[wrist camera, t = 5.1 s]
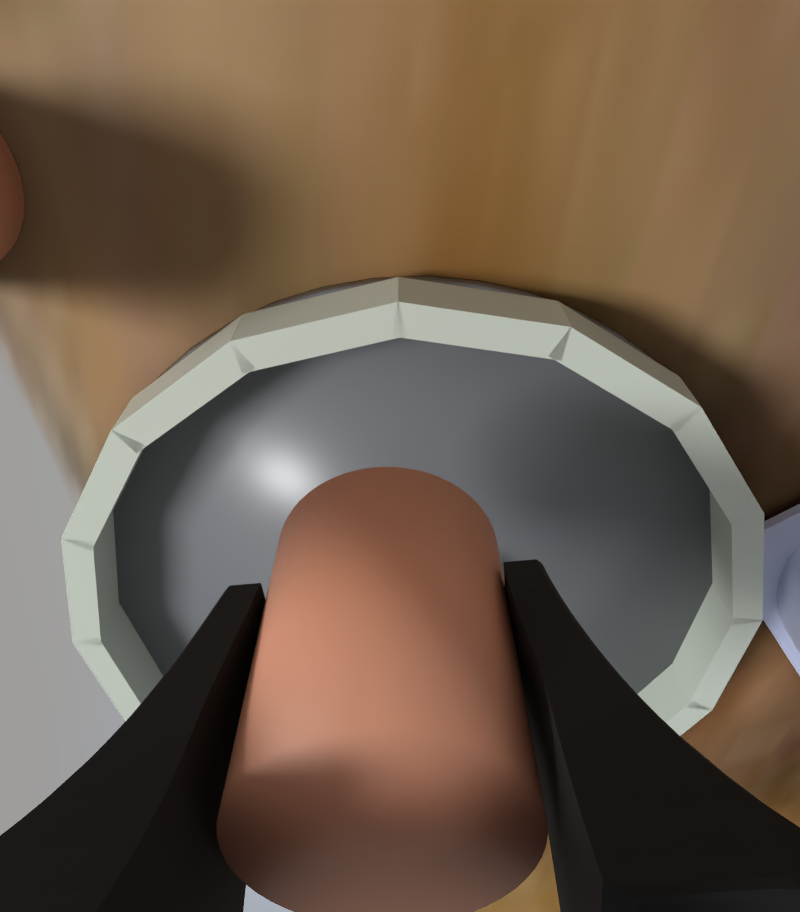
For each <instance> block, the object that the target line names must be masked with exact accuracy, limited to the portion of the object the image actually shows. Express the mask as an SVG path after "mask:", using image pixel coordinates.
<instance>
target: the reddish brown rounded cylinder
mask: <svg viewBox="0 0 800 912" xmlns="http://www.w3.org/2000/svg"><path fill="white" fill-rule="evenodd" d="M24 208H25V204H24V191H23V185H22V180H21V177H20V173H19V170H18V167H17V164H16V162H15V160H14V157H13V155H12V153H11V151H10V149H9V147H8V145H7V144H6V142H5V140H4V138H3V137H2V136H1V134H0V260H2V259H3V258H4V257H5V256H6V255H7V254H8V252H9V251H10V250H11V249H12V247H13V246H14V244H15V242H16V241H17V238H18V236H19V234H20V231H21V227H22V223H23V219H24Z"/></svg>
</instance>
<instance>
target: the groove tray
mask: <svg viewBox="0 0 800 912" xmlns="http://www.w3.org/2000/svg"><path fill="white" fill-rule="evenodd" d="M373 467H400V468H409V469H414V470H419V471H423V472H426V473H429V474H432V475H436V476H438V477H440V478H442V479H445V480H447V481H449V482H451V483H452V484H454V485H456V486H457V487H459V488H460V489H462V490H463V491H464V492H466V493H467V494H468V495H469V496H470V497H472V498H473V499H474V500H475V501H476V502H477V504H478V505H479V506H480V507H481V508H482V509H483V511H484V512H485V514H486V515H487V517H488V518H489V520H490V523H491V525H492V527H493V529H494V532H495V536H496V539H497V544H498V550H499V556H500V561H501V567H502V572H503V578H504V562H510V561H522V560H534V559H537V560H538V561H540V562H541V563H542V564H543V566H544V568H545V570H546V572H547V574H548V576H549V577H550V579H551V581H552V583H553V584H554V586H555V588H556V589H557V591H558V593H559V594H560V596H561V597H562V599H563V601H564V602H565V604H566V605H567V607H568V608H569V610H570V611H571V613H572V614H573V615H574V617H575V618H576V620H577V621H578V623H579V624H580V625H581V627H582V628H583V629H584V631H585V632H586V633H587V635H588V636H589V637H590V639H591V640H592V641H593V643H594V644H595V645H596V647H597V648H598V649H599V650H600V652H601V653H602V654H603V655H604V657H605V658H606V659H607V660H608V661H609V663H610V664H611V665H612V666H613V667H614V668H615V670H616V671H617V672H618V673H619V674H620V676H621V677H622V678H623V679H624V680H625V681H626V682H627V683H628V685H629V686H630V687H631V688H632V689H633V690H634V691H635V692H636V693H637V694H638V695H639V696H640V697H641V699H642V700H643V701H644V702H645V703H646V704H647V705H648V706H649V707H650V708H651V709H652V710H653V711H654V712H655V713H656V714H657V715H658V716H659V717H660V718H661V719H663V720H664V721H665V722H666V723H667V724H668V725H669V726H670V727H671V728H672V729H673V730H674V731H675V732H676V733H677V734H678V735H679V736H681V735H682V734H683V733H684V732H686V731H687V730H688V729H689V728H691V727H692V726H693V725H694V724H696V723H697V722H698V721H699V720H701V719H702V718H703V717H704V716H706V715H707V714H708V713H709V712H710V711H712V710H713V708H714V706H715V704H716V702H717V701H718V699H719V697H720V695H721V694H722V692H723V690H724V688H725V686H726V685H727V683H728V681H729V679H730V678H731V676H732V674H733V672H734V670H735V669H736V667H737V665H738V663H739V662H740V660H741V658H742V656H743V654H744V653H745V651H746V649H747V647H748V646H749V644H750V642H751V640H752V638H753V637H754V635H755V633H756V631H757V630H758V628H759V626H760V624H761V622H762V621H763V565H764V512H763V511H762V509H761V507H760V506H759V504H758V502H757V501H756V499H755V497H754V495H753V494H752V492H751V490H750V489H749V487H748V485H747V484H746V482H745V480H744V478H743V477H742V475H741V473H740V472H739V470H738V468H737V467H736V465H735V463H734V462H733V460H732V458H731V456H730V455H729V453H728V451H727V450H726V448H725V446H724V445H723V443H722V441H721V440H720V438H719V436H718V434H717V433H716V431H715V429H714V428H713V426H712V424H711V423H710V421H709V419H708V417H707V416H706V414H705V412H704V411H703V409H702V407H701V406H700V404H699V403H698V401H697V400H696V399H695V397H694V396H693V394H692V393H691V392H690V390H689V389H688V387H687V386H686V385H685V383H684V382H683V381H682V379H681V378H680V376H678V375H676V374H675V373H673V372H672V371H670V370H668V369H667V368H665V367H663V366H662V365H660V364H659V363H657V362H655V361H654V360H653V359H652V358H651V357H650V356H649V355H648V354H646V353H645V352H644V351H642V350H641V349H640V348H638V347H637V346H636V345H634V344H633V343H631V342H630V341H629V340H627V339H626V338H625V337H623V336H622V335H621V334H619V333H618V332H616V331H615V330H613V329H612V328H610V327H608V326H606V325H604V324H602V323H600V322H598V321H596V320H595V319H593V318H591V317H589V316H587V315H585V314H583V313H581V312H579V311H578V310H576V309H574V308H571V307H569V306H566V305H564V304H562V303H561V302H559V301H556V300H550V299H547V298H544V297H541V296H538V295H536V294H533V293H530V292H527V291H523V290H519V289H514V288H510V287H505V286H500V285H496V284H491V283H487V282H482V281H477V280H467V279H455V278H443V277H431V276H412V277H389V278H371V279H365V280H359V281H353V282H348V283H342V284H336V285H330V286H325V287H320V288H317V289H314V290H310V291H307V292H304V293H301V294H298V295H294V296H291V297H288V298H285V299H282V300H278V301H275V302H273V303H270V304H268V305H266V306H264V307H262V308H260V309H258V310H255V311H253V312H249V313H245V314H242V315H241V316H240V317H238V318H237V319H236V320H234V321H232V322H230V323H228V324H227V325H225V326H224V327H222V328H221V329H219V330H217V331H216V332H214V333H213V334H211V335H210V336H208V337H207V338H205V339H204V340H202V341H201V342H199V343H198V344H196V345H194V346H193V347H191V348H190V349H189V350H188V351H187V352H186V353H185V354H184V355H182V356H181V357H180V358H179V359H178V360H177V361H176V362H174V363H173V364H172V365H171V366H170V367H169V368H168V369H167V370H165V371H164V372H163V373H162V374H161V375H160V376H159V377H158V378H157V379H156V380H155V381H154V382H153V383H151V384H150V385H149V386H147V387H146V388H145V389H143V390H142V391H141V392H139V393H138V394H137V395H136V396H134V397H133V398H132V399H131V400H130V402H129V403H128V405H127V406H126V408H125V410H124V411H123V413H122V414H121V416H120V417H119V419H118V420H117V422H116V423H115V425H114V426H113V428H112V430H111V432H110V434H109V436H108V438H107V441H106V443H105V445H104V447H103V449H102V451H101V453H100V456H99V458H98V460H97V462H96V464H95V466H94V469H93V471H92V473H91V475H90V477H89V479H88V482H87V484H86V486H85V488H84V490H83V492H82V494H81V497H80V499H79V501H78V503H77V505H76V507H75V510H74V512H73V514H72V516H71V518H70V520H69V523H68V525H67V527H66V529H65V532H64V533H63V536H62V537H61V544H62V552H63V562H64V570H65V580H66V588H67V598H68V606H69V615H70V624H71V634H72V642H73V644H74V645H75V647H76V649H77V650H78V652H79V653H80V654H81V656H82V658H83V659H84V661H85V662H86V663H87V665H88V666H89V668H90V669H91V671H92V672H93V674H94V675H95V677H96V678H97V680H98V681H99V683H100V684H101V686H102V687H103V689H104V690H105V692H106V693H107V695H108V696H109V698H110V699H111V701H112V702H113V704H114V705H115V707H116V708H117V710H118V711H119V713H120V714H121V716H122V717H123V719H124V720H125V721H126V720H127V719H128V718H129V717H130V716H131V715H132V714H133V712H134V711H135V710H136V709H137V708H138V707H139V705H140V704H141V703H142V702H143V700H144V699H145V698H146V697H147V696H148V694H149V693H150V692H151V691H152V690H153V688H154V687H155V686H156V685H157V683H158V682H159V681H160V680H161V679H162V677H163V676H164V675H165V674H166V672H167V671H168V670H169V668H170V667H171V666H172V664H173V663H174V662H175V660H176V659H177V658H178V656H179V655H180V654H181V652H182V651H183V650H184V648H185V647H186V646H187V644H188V643H189V641H190V640H191V639H192V637H193V636H194V634H195V633H196V632H197V630H198V629H199V627H200V626H201V625H202V623H203V622H204V620H205V619H206V617H207V616H208V615H209V613H210V612H211V610H212V609H213V607H214V606H215V604H216V603H217V601H218V600H219V598H220V597H221V596H222V594H223V593H224V591H225V590H226V589H227V588H228V587H229V586H230V585H242V584H254V583H261V585H262V588H263V592H264V596H265V599H266V596H267V592H268V587H269V583H270V578H271V574H272V569H273V565H274V560H275V556H276V551H277V547H278V542H279V538H280V533H281V531H282V528H283V525H284V523H285V521H286V519H287V517H288V516H289V514H290V512H291V511H292V510H293V508H294V507H295V506H296V505H297V503H298V502H299V501H300V500H301V499H302V498H303V497H304V496H305V495H307V494H308V493H309V492H310V491H312V490H313V489H314V488H316V487H317V486H319V485H320V484H322V483H324V482H326V481H328V480H330V479H332V478H334V477H337V476H339V475H342V474H344V473H347V472H351V471H355V470H360V469H366V468H373Z"/></svg>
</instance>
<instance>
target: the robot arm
mask: <svg viewBox="0 0 800 912" xmlns="http://www.w3.org/2000/svg"><path fill="white" fill-rule="evenodd" d="M504 583H505V591H506V597H507V602H508V608H509V613H510V619H511V625H512V629H513V634H514V639H515V645H516V650H517V656H518V661H519V667H520V672H521V678H522V684H523V689H524V695H525V700H526V706H527V711H528V717H529V723H530V728H531V734H532V739H533V745H534V750H535V756H536V762H537V767H538V773H539V778H540V784H541V789H542V795H543V801H544V806H545V812H546V817H547V827H548V833H549V840H550V846H551V852H552V859H553V865H554V871H555V878H556V884H557V890H558V897H559V904H560V910H561V912H800V828H799V827H798V826H796V825H795V824H793V823H792V822H790V821H789V820H787V819H786V818H784V817H783V816H781V815H780V814H778V813H777V812H775V811H774V810H772V809H771V808H770V807H768V806H767V805H765V804H764V803H763V802H761V801H760V800H758V799H757V798H756V797H754V796H753V795H752V794H750V793H749V792H748V791H746V790H745V789H744V788H742V787H741V786H740V785H738V784H737V783H736V782H735V781H733V780H732V779H731V778H729V777H728V776H727V775H725V774H724V773H723V772H722V771H721V770H719V769H718V768H717V767H716V766H715V765H714V764H712V763H711V762H710V761H709V760H708V759H706V758H705V757H704V756H703V755H702V754H701V753H699V752H698V751H697V750H696V749H695V748H693V747H692V746H691V745H690V744H689V743H687V742H686V741H685V740H684V739H683V738H682V737H681V736H679V735H678V734H677V733H676V732H675V731H674V730H673V729H672V728H671V727H670V726H669V725H668V724H667V723H666V722H665V721H664V720H663V719H661V718H660V717H659V716H658V715H657V714H656V713H655V712H654V711H653V710H652V709H651V708H650V707H649V706H648V705H647V704H646V703H645V702H644V701H643V700H642V699H641V697H640V696H639V695H638V694H637V693H636V692H635V691H634V690H633V689H632V688H631V687H630V686H629V685H628V683H627V682H626V681H625V680H624V679H623V678H622V677H621V676H620V674H619V673H618V672H617V671H616V670H615V668H614V667H613V666H612V665H611V664H610V663H609V661H608V660H607V659H606V658H605V657H604V655H603V654H602V653H601V652H600V650H599V649H598V648H597V647H596V645H595V644H594V643H593V641H592V640H591V639H590V637H589V636H588V635H587V633H586V632H585V631H584V629H583V628H582V627H581V625H580V624H579V623H578V621H577V620H576V618H575V617H574V615H573V614H572V613H571V611H570V610H569V608H568V607H567V605H566V604H565V602H564V601H563V599H562V597H561V596H560V594H559V593H558V591H557V589H556V588H555V586H554V584H553V583H552V581H551V579H550V577H549V576H548V574H547V572H546V570H545V568H544V566H543V564H542V563H541V562H540V561H538V560H537V559H534V560H522V561H510V562H504ZM265 601H266V599H265V596H264V592H263V588H262V585H261V583H254V584H242V585H230V586H229V587H228V588H227V589H226V590H225V591H224V593H223V594H222V596H221V597H220V598H219V600H218V601H217V603H216V604H215V606H214V607H213V609H212V610H211V612H210V613H209V615H208V616H207V617H206V619H205V620H204V622H203V623H202V625H201V626H200V627H199V629H198V630H197V632H196V633H195V634H194V636H193V637H192V639H191V640H190V641H189V643H188V644H187V646H186V647H185V648H184V650H183V651H182V652H181V654H180V655H179V656H178V658H177V659H176V660H175V662H174V663H173V664H172V666H171V667H170V668H169V670H168V671H167V672H166V674H165V675H164V676H163V677H162V679H161V680H160V681H159V682H158V683H157V685H156V686H155V687H154V688H153V690H152V691H151V692H150V693H149V694H148V696H147V697H146V698H145V699H144V700H143V702H142V703H141V704H140V705H139V707H138V708H137V709H136V710H135V711H134V712H133V714H132V715H131V716H130V717H129V718H128V719H127V720H126V721H125V723H124V724H123V725H122V726H121V727H120V728H119V729H118V730H117V731H116V732H115V734H114V735H113V736H112V737H111V738H110V739H109V740H108V741H107V742H106V743H105V744H104V745H103V746H102V747H101V748H100V749H99V750H98V751H97V752H96V753H95V754H94V755H93V756H92V757H91V758H90V759H89V760H88V761H87V762H86V763H85V764H84V765H83V766H82V767H81V768H79V770H77V771H76V772H75V773H74V774H73V775H72V776H71V777H70V778H69V779H68V780H66V781H65V782H64V783H63V784H62V785H61V786H60V787H59V788H57V789H56V790H55V791H54V792H53V793H52V794H51V795H50V796H49V797H48V798H46V799H45V800H44V801H43V802H42V803H41V804H39V805H38V806H37V807H36V808H35V809H33V810H32V811H31V812H30V813H28V814H27V815H26V816H25V817H24V818H22V819H21V820H20V821H19V822H17V823H16V824H15V825H14V826H12V827H11V828H10V829H9V830H7V831H6V832H5V833H3V834H2V835H1V836H0V912H243V906H244V897H245V888H246V884H245V883H244V882H243V881H242V880H241V879H240V878H239V877H238V876H237V875H236V874H235V873H234V872H233V870H232V869H231V868H230V866H229V865H228V864H227V862H226V861H225V858H224V856H223V854H222V852H221V850H220V847H219V843H218V839H217V826H216V824H217V819H218V813H219V809H220V804H221V800H222V795H223V791H224V786H225V781H226V777H227V772H228V768H229V763H230V759H231V754H232V750H233V745H234V741H235V736H236V732H237V727H238V723H239V718H240V714H241V709H242V705H243V700H244V696H245V691H246V687H247V682H248V678H249V673H250V669H251V664H252V660H253V655H254V651H255V646H256V642H257V637H258V633H259V628H260V623H261V619H262V614H263V610H264V605H265ZM763 620H764V622H765V623H766V625H767V627H768V628H769V630H770V631H771V633H772V634H773V636H774V637H775V639H776V640H777V642H778V643H779V645H780V646H781V648H782V650H783V651H784V653H785V654H786V656H787V657H788V659H789V660H790V662H791V663H792V665H793V666H794V668H795V669H796V671H797V673H798V674H799V676H800V504H798V505H796V506H794V507H792V508H790V509H788V510H786V511H784V512H782V513H780V514H778V515H776V516H774V517H772V518H770V519H768V520H766V521H764V565H763Z"/></svg>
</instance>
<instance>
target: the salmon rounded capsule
mask: <svg viewBox="0 0 800 912" xmlns="http://www.w3.org/2000/svg"><path fill="white" fill-rule="evenodd" d="M216 826H217V839H218V843H219V847H220V850H221V852H222V854H223V856H224V858H225V861H226V862H227V864H228V865H229V866H230V868H231V869H232V870H233V872H234V873H235V874H236V875H237V876H238V877H239V878H240V879H241V880H242V881H243V882H244V883H245V884H246V885H248V886H249V887H250V888H251V889H253V890H254V891H255V892H257V893H258V894H260V895H262V896H263V897H265V898H266V899H269V900H270V901H271V902H274V903H276V904H278V905H280V906H282V907H284V908H286V909H289V910H291V911H294V912H473V911H476V910H478V909H481V908H483V907H485V906H488V905H489V904H491V903H493V902H495V901H497V900H499V899H501V898H502V897H504V896H505V895H507V894H508V893H510V892H511V891H513V890H514V889H515V888H516V887H518V886H519V885H520V884H521V883H522V882H523V881H524V880H526V878H527V877H528V876H529V875H530V874H531V873H532V871H533V870H534V869H535V868H536V866H537V864H538V863H539V861H540V859H541V858H542V855H543V852H544V850H545V847H546V843H547V836H548V827H547V817H546V812H545V806H544V801H543V795H542V789H541V784H540V778H539V773H538V767H537V762H536V756H535V750H534V745H533V739H532V734H531V728H530V723H529V717H528V711H527V706H526V700H525V695H524V689H523V684H522V678H521V672H520V667H519V661H518V656H517V650H516V645H515V639H514V634H513V629H512V625H511V619H510V613H509V608H508V602H507V597H506V591H505V583H504V578H503V572H502V567H501V561H500V556H499V550H498V544H497V539H496V536H495V532H494V529H493V527H492V525H491V523H490V520H489V518H488V517H487V515H486V514H485V512H484V511H483V509H482V508H481V507H480V506H479V505H478V504H477V502H476V501H475V500H474V499H473V498H472V497H470V496H469V495H468V494H467V493H466V492H464V491H463V490H462V489H460V488H459V487H457V486H456V485H454V484H452V483H451V482H449V481H447V480H445V479H442V478H440V477H438V476H436V475H432V474H429V473H426V472H423V471H419V470H414V469H409V468H400V467H373V468H366V469H360V470H355V471H351V472H347V473H344V474H342V475H339V476H337V477H334V478H332V479H330V480H328V481H326V482H324V483H322V484H320V485H319V486H317V487H316V488H314V489H313V490H312V491H310V492H309V493H308V494H307V495H305V496H304V497H303V498H302V499H301V500H300V501H299V502H298V503H297V505H296V506H295V507H294V508H293V510H292V511H291V512H290V514H289V516H288V517H287V519H286V521H285V523H284V525H283V528H282V531H281V533H280V538H279V542H278V547H277V551H276V556H275V560H274V565H273V569H272V574H271V578H270V583H269V587H268V592H267V596H266V601H265V605H264V610H263V614H262V619H261V623H260V628H259V633H258V637H257V642H256V646H255V651H254V655H253V660H252V664H251V669H250V673H249V678H248V682H247V687H246V691H245V696H244V700H243V705H242V709H241V714H240V718H239V723H238V727H237V732H236V736H235V741H234V745H233V750H232V754H231V759H230V763H229V768H228V772H227V777H226V781H225V786H224V791H223V795H222V800H221V804H220V809H219V813H218V819H217V824H216Z"/></svg>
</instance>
